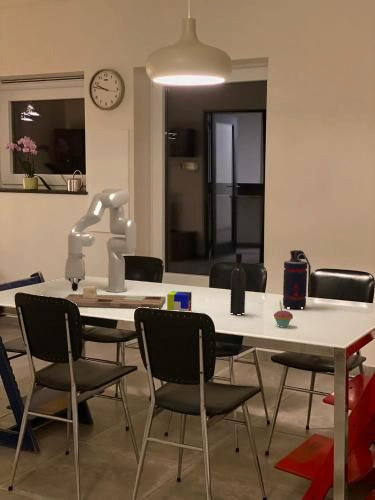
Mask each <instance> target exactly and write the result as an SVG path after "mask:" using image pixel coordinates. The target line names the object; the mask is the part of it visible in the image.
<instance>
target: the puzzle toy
mask: <svg viewBox="0 0 375 500" xmlns="http://www.w3.org/2000/svg"><path fill="white" fill-rule="evenodd" d="M166 295H167V296H166V297H167V298H166V299H167V301H166V307H167V308H166V311H167V310H179V311H191V312H192V291H178V290H177V291H173V290H171V291H170V292H168V294H166Z"/></svg>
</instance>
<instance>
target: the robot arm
mask: <svg viewBox="0 0 375 500" xmlns="http://www.w3.org/2000/svg"><path fill="white" fill-rule="evenodd" d="M130 196H131V195H130V192H129V191H128V190H127V189H126V188H125V189H124V188H105V189H102V191H101V192H97V193H95V194H94V195H93V197H92V200H91V202H90V205H89V207H88V209H87V212H86V213H85V215H83V216H82V217H81V218H80V219H79V220H77V221H76V222H75V223H74V225H72V228H71V231H70V233H68V236H67V259H66V261H65V268H64V280H66V281H69V282H70V283H71V290H72V292H77V290H78V289H79V283H80V282H81V281H84V280H85V279H86V277H85V276H86V264H85V260H84V258H85V257H86V255H85V254H83V247H87V248H88V247H91V246H93V245H94V243H95V242H96V237H95V235H94V234H93V233H91V232H83V231H84V230H85V229H86V228H88V227H90V226H93V225H95V224H98V223H99V222H101V220H102V217H103V215H104V213H105V210H107V209H108V211H109V232H110V233H111V234H113V235H119V236H111V237H110V238H108V239H107V242H106V248H107V249H106V250H107V257H108V267H107V268H108V270H107V271H108V273H107V274H108V283H107V284H108V286H107V287H106V288H105V292H109V293H123V292H128V288H127V287H125V278H126V275H125V274H126V268H125V267H126V261H125V257H124V256H123V255H132V254H134V253H135V252H136V249H137V224H136V222H135V221H134V220H133V219H132V218H126V217H125V208H124V205H126V204H128V202H129V201H130V198H131V197H130ZM121 236H124V237H121Z"/></svg>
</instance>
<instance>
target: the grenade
mask: <svg viewBox="0 0 375 500" xmlns="http://www.w3.org/2000/svg"><path fill="white" fill-rule="evenodd" d="M289 254H290V259H289V260H286V261H284V262H283V268H284V269H283V285H282V286H283V287H282V288H283V289H282V290H283V291H282V292H283V293H282V306H283V307H284V308H286V307H290V308H291V309H300V308H301V307H304V308H306V307H307V304H306V303H307V298H306V297H307V292H308V293H309V294H311V286H312V285H311V283H312V282H311V280H312V279H311V277H312V276H311V274H312V273H311V271H312V270H311V269H312V266H311V264H310V261H309V259H308V257H307V256H306V253H304V251H303V250H302V249H299V250H297V249H293V250H290V251H289ZM307 278H308V279H307Z"/></svg>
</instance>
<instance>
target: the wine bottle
mask: <svg viewBox="0 0 375 500" xmlns="http://www.w3.org/2000/svg"><path fill="white" fill-rule="evenodd" d="M242 256H243V253H241V252H240V253H239V252H237V253H235V268H234V269H233V270H232V271H231V276H230V309H229V311H230V312H229V313H233V314H242V313H246V311H245V310H246V282H247V281H246V272H245V270H244V269H243V267H242V261H243V260H242V258H243V257H242Z"/></svg>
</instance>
